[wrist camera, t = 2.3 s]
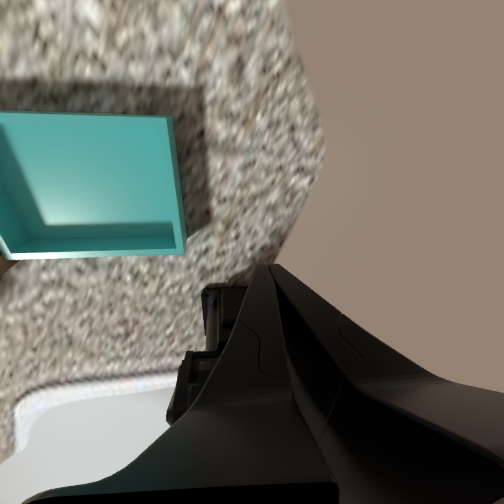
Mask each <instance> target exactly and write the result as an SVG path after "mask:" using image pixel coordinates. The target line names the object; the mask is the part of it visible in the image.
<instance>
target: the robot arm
mask: <svg viewBox="0 0 504 504" xmlns="http://www.w3.org/2000/svg"><path fill="white" fill-rule="evenodd" d="M205 293H208V294H205ZM201 300H202V310H203V320H204V330H205V336H206V351H198V352H193V351H186V354H185V359H184V360H182V364H181V365H180V366H179V369H178V376H177V383H176V387H175V390H174V393H173V396H172V398H171V401H170V404H169V407H168V409H167V414H166V421H167V423H168V424H169V425H170V426H171V427H170V428H169V429H168V430H166V431H165V432H164V433H163V434H162V435H161V436H160V437H159V438H158V439H157V440H155V441H154V442H153V443H152V444H151V445H150V446H149V447H148V448H147V449H146V450H145V451H144V452H142V453H141V454H140V455H139V456H138V457H137V458H136V459H135V460H134V461H132V462H131V463H130V464H129V465H127V466H126V467H125V468H123V469H122V470H120V471H118V472H116V473H115V474H113V475H111V476H109V477H106V478H104V479H102V480H99V481H96V482H92V483H88V484H82V485H74V486H67V487H61V488H55V489H50V490H47V491H44V492H41V493H38V494H36V495H34V496H32V497H30V498H28V499H26V500H25V501H24V502H23V503H22V504H504V393H501V392H496V391H491V390H487V389H482V388H477V387H473V386H468V385H463V384H459V383H455V382H452V381H449V380H446V379H443V378H441V377H438V376H436V375H434V374H432V373H430V372H429V371H427V370H425V369H424V368H422V367H421V366H419V365H417V364H416V363H414V362H413V361H411V360H410V359H408V358H407V357H405V356H404V355H402V354H401V353H399V352H397V351H396V350H394V349H393V348H391V347H390V346H388V345H387V344H385V343H384V342H382V341H381V340H379V339H378V338H376V337H375V336H373V335H372V334H370V333H369V332H367V331H366V330H364V329H363V328H362V327H360V326H359V325H357V324H356V323H355V322H353V321H352V320H351V319H350V318H348V317H347V316H345V315H344V314H342V313H341V312H340V311H339V310H338V309H336V308H335V307H334V306H333V305H331V304H330V303H329V302H327V301H326V300H325V299H323V298H322V297H321V296H319V295H318V294H317V293H315V292H314V291H313V290H312V289H310V288H309V287H308V286H307V285H305V284H304V283H303V282H301V281H300V280H299V279H297V278H296V277H295V276H294V275H292V274H291V273H290V272H288V271H287V270H286V269H284V268H283V267H282V266H281V265H279V264H268V265H266V264H258V265H256V267H255V270H254V272H253V275H252V278H251V281H250V284H249V286H243V287H222V288H205V289H203V290H202V292H201Z"/></svg>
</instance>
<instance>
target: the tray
mask: <svg viewBox="0 0 504 504" xmlns="http://www.w3.org/2000/svg"><path fill="white" fill-rule="evenodd" d="M186 242H187V232H186V224H185V215H184V207H183V198H182V190H181V181H180V173H179V164H178V156H177V147H176V139H175V131H174V122H173V115H145V114H115V113H84V112H54V111H23V110H0V250H1V252H2V253H3V255H4V257H5V259H6V260H20V259H51V258H81V257H112V256H143V255H173V254H184V252H185V247H186Z"/></svg>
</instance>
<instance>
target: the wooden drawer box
mask: <svg viewBox="0 0 504 504" xmlns="http://www.w3.org/2000/svg"><path fill="white" fill-rule="evenodd" d="M15 263H17V260H6V259H5V257H4V255H3V253H2V252H1V250H0V276H1V275H2V274H3V273H4V272H6V271H7V270H8V269H9V268H11V267H12V266H13V265H14V264H15Z"/></svg>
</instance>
